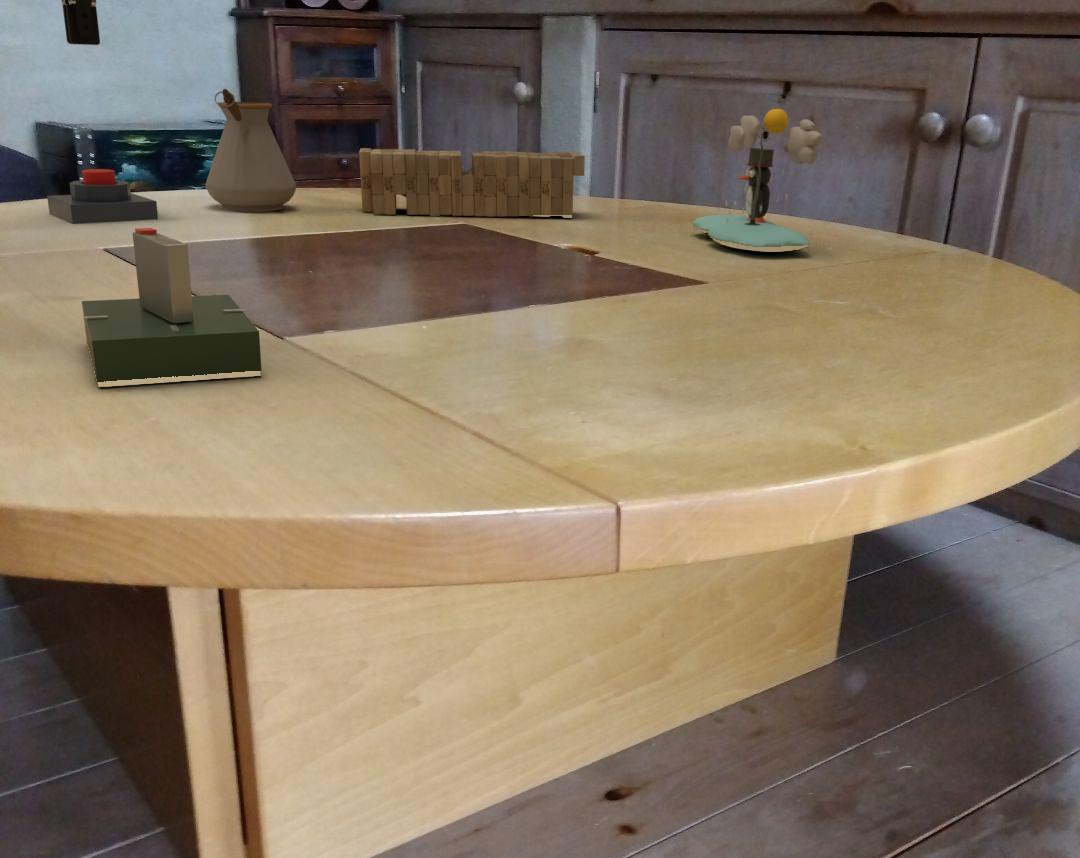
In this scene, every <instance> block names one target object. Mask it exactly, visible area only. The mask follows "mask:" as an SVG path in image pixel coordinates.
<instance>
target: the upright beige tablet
mask: <svg viewBox="0 0 1080 858" xmlns="http://www.w3.org/2000/svg"><path fill="white" fill-rule="evenodd" d="M132 242H133V251H134V260H135V261H134V262H135V269H136V270H135V271H136V280H137V289H138V297H139V298H138V299H140V307H141V308H143V309H145V310H147V311H149V312H151V313H153V314H155V315H157V316H159V317H161V318H163V319H165V320H167V321H169V322H171V323H173V324H180V323H189V322H194V317H193V305H192V296H193V295H192V284H191V272H190V261H189V248H188V244H187V243H185V242H182V241H179V240H177V239H175V238H172V237H169V236H166V235H164V234H161V233H158V230H157V229H155V228H153V227H142V228H134V231H133V232H132Z"/></svg>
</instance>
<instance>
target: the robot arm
mask: <svg viewBox="0 0 1080 858" xmlns="http://www.w3.org/2000/svg"><path fill="white" fill-rule="evenodd" d="M61 4H62V11H63V12H62V13H63V20H64V21H63V22H64V29H65V38H66V42H67V43H68V44H69V45H84V46H85V45H86V46H99V45H100V44H101V38H100V27H99V19H98V11H97V0H61Z"/></svg>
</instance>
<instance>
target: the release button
mask: <svg viewBox="0 0 1080 858" xmlns="http://www.w3.org/2000/svg"><path fill="white" fill-rule="evenodd" d="M81 173H82V180H83V182H84V184H91V185H108V184H116V180H117V179H116V171H115V170H114V169H107V168H106V169H105V168H89V169H82V171H81Z"/></svg>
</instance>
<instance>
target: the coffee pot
mask: <svg viewBox="0 0 1080 858" xmlns="http://www.w3.org/2000/svg"><path fill="white" fill-rule="evenodd" d="M219 94H222V96H223V97H222V100H223V101H221V102H218V101H217V96H218V95H219ZM214 102H215V104H216V105H217V106H218V107H219V108H220V110H221V111H222V113H223V115H224V116H225V118H226V122H225V124H224V127H223V130H222V133H221V136H220V139H219V142H218V146H217V147H216V148H217V149H216V151H215V155H214V157H213V160H212V163H211V166H210V170H209V173H208V175H207V178H206V182H205V189H206V190H207V192H208V194H209V196H210V197H211V198H212V199H213V200H214V201H216V202H217V203H219V204H220V205H222V207H223V208H224V209H223V208H222V209H223V210H227V209H228V210H227V211H233V210H234V212H252V213H253V212H256V213H257V212H274V211H280V210H282V209H283V210H284V208H283V207H284V205H285V204H287V203H288V202H290V201H291V199H292V198H293V197H294V195H295V193H296V190H297V184H296V182H295V179H294V177H293V175H292V172H291V170H290V168H289V166H288V164H287V161H286V159H285V156H284V155H283V153H282V150H281V147H280V146H279V144H278V141H277V140H276V137H275V135H274V133H273V130H272V129H271V126H270V123H269V122H268V118H269V112H270V109H271V108H273V105H272V103H269V102H255V101H236V98H235V95H234V93H232V92H231V91H230V90H228V89H227V88H223V89H222V90H221V91H218V92H217V93H215V95H214Z"/></svg>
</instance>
